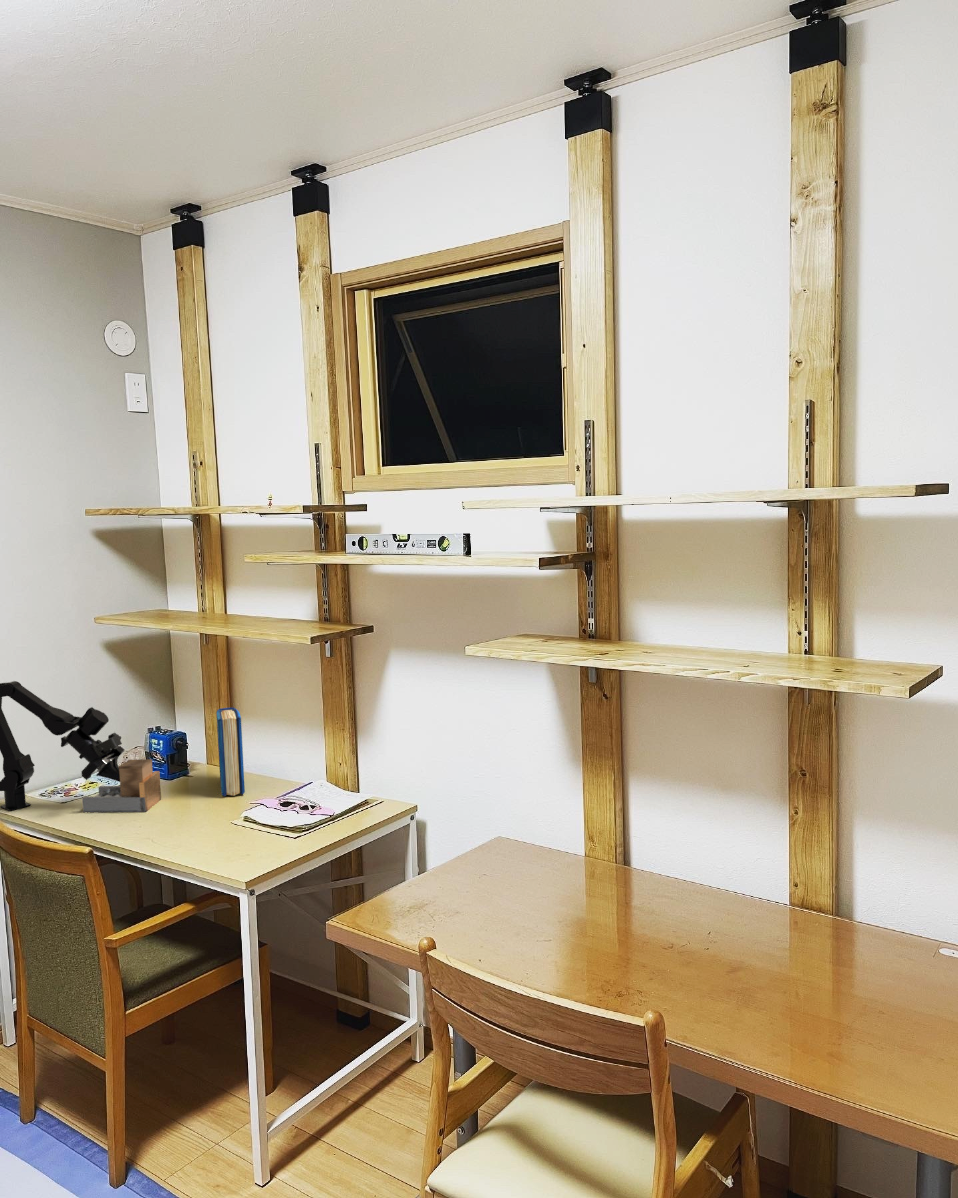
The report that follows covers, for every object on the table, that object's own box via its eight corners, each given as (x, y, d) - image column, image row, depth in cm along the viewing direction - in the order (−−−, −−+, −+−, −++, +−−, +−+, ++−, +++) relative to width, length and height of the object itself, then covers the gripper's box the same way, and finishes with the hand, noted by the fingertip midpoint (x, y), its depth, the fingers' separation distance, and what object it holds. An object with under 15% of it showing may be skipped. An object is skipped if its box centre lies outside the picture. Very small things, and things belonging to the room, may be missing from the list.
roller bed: (83, 812, 285) (81, 783, 284) (101, 800, 296) (99, 771, 296) (145, 812, 284) (144, 782, 283) (161, 799, 295) (159, 771, 295)
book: (219, 779, 316) (215, 705, 313) (241, 777, 318) (237, 703, 315) (221, 798, 295) (217, 719, 293) (245, 796, 297) (241, 717, 295)
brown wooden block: (120, 799, 286) (118, 766, 285) (131, 791, 294) (129, 759, 293) (144, 798, 286) (142, 766, 285) (153, 791, 294) (152, 759, 293)
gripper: (89, 734, 279) (128, 771, 279) (116, 720, 297) (153, 754, 298) (64, 761, 280) (103, 797, 280) (93, 745, 298) (130, 779, 299)
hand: (123, 781), depth 289 cm, fingers closed, pressing on brown wooden block
